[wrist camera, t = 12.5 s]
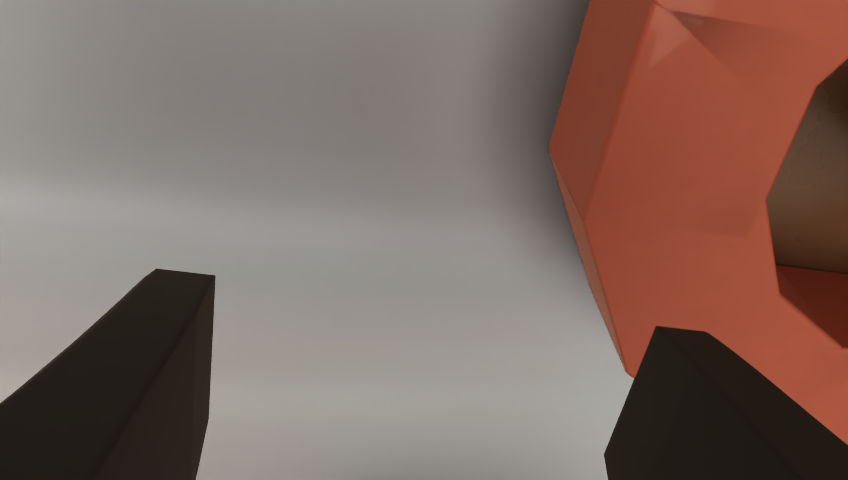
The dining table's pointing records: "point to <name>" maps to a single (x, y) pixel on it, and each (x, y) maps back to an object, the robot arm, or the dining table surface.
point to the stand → (815, 185)
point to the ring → (702, 181)
